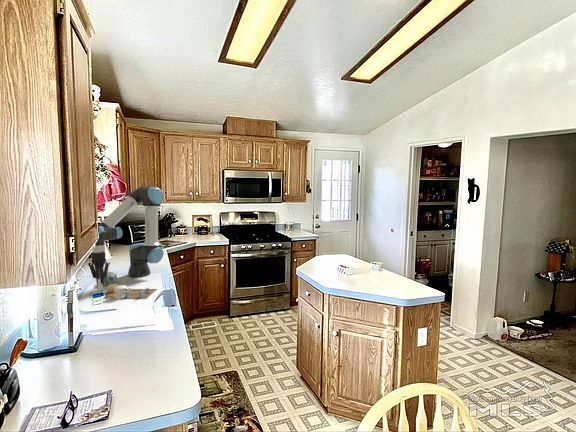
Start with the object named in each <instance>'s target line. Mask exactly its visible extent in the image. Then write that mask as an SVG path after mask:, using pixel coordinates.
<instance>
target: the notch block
mask: <svg viewBox="0 0 576 432" xmlns="http://www.w3.org/2000/svg"><path fill="white" fill-rule="evenodd" d="M128 289H129V290H128V291H127V292H125V295H126V298H128V297H130V296H131V289H132V288H131V287H129V288H128ZM142 289H143V290H142V291H140V292H139V297H140V298H142V297H143V296H145V295H147V294H149V289H150V288H149V287H145V288H142Z"/></svg>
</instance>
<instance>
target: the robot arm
mask: <svg viewBox="0 0 576 432" xmlns="http://www.w3.org/2000/svg"><path fill="white" fill-rule="evenodd" d="M164 198H165V195H164V192H163V190H162V189H161V188H159V187H157V186H139V187H137V188H135V189H134V190H133V191H131V192H130V193H129V194H128V195H127V196H126V197H125V200H124V201H123V202H121V203H120V204H119V205H118V206H117V207H116V208H115V209H114V210H113V211H111V212H110V214H108V215H107V216H106V217H105V218H104V219H103V220H102V221H101V222H100V223H99V224H98V225H99V239H98V242H97V243H96V246H95V248H94V251H93V252H91V254H90V255H91V260H90V262H88V263H87V265H88V267H89V270H90V272H91V275H92V278H93V279H95V280H96V284H97V290H99V291H100V290H103V289H104V285H103V283H104V278H105V277H107V273H108V272H109V267H110V265H111V262H109V261H107V259H106V251H105V250H106V244H105V243H106V241H113V240H118V239H121V238H122V237H123V235H124V234H123V230H122V228H121V227H120V226H116V225H117V224H118V223H119V222H121V220H123V218H124V217H125V216H127V215H128V214H129V212H131V211H132V210H133V209H134V208H135V207H138V206H139V205H141V204H142V207H143V208H144V219H145V220H144V237H145V238H144V242H141V243H140V242H139V243H134V244H131V245H129V247H128V248H129V250H128V251H129V265H130V266H129V269H128V272H127V273H128V274H127V275H128V277H129V276H130V278H142V277H143V278H144V277H146V276H147V277H148V276H150V275H151V269H150V267H149V264H158V263H160V262H161V261H162V259H163V257H164V254H165V253H164V252H165V251H164V249H163V248H161V243H160V242H159V209H160V207H161V204H162V203H163V201H164ZM148 263H149V264H148Z"/></svg>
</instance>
